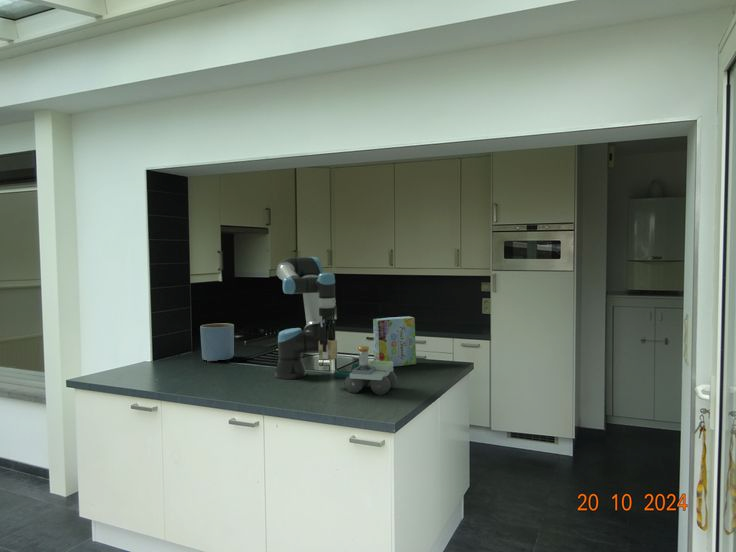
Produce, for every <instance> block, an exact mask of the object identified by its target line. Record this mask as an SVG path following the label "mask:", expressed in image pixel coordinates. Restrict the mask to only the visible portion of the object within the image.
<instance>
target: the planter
mask: <svg viewBox="0 0 736 552" xmlns="http://www.w3.org/2000/svg"><path fill="white" fill-rule="evenodd" d="M199 330H200V346H201V359H202V360H203V361H204V360H207V362H217V361H218V360H225V359H229V360H231V359H233V358H234V357H233V356H234V355H235V353H234V351H235V349H234V348H235V343H234V342H235V324H233V323H228V322H226V323H225V322H224V323H207V324H202V325H200V327H199ZM218 362H219V361H218Z"/></svg>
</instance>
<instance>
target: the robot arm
mask: <svg viewBox="0 0 736 552" xmlns="http://www.w3.org/2000/svg"><path fill="white" fill-rule="evenodd" d="M275 274H276V275H277V277H278V279H280V280H281V281H282V291H283V293H284V294H287V295H288V294H289V295H294V294H295V295H297V294H302V297H303V307H304V313H305V321H306V323H305V324H306V325H305V326H304V328H303V330H302V328H300V327H296V328H295V327H294V328H293V327H292V328H286V329H284V330H281V331H279V332H278V335H277V345H278V346H277V347H278V348H277V349H278V362H277V366H276V369H275V373H274V375H275V377H276V378H278V379H281V380H283V379H284V380H289V379H290V380H291V379H301V378H304V377H306V376H307V371H306V367H305V364H304V362H303V361H304V360H303V355H311V354H319V341H320V345H322V359H321V360H327V359H329V356H328V345H327V342H328V340H336V318H334V316H336V307H335V306H336V302H337V301H336V278H335V277H336V276H335V274H334V273H330V272H328V273H327V272H325V273H324V271H323V266H322V262H321V260H320V258H318V257H317V256H306V257H305V256H304V257H303V256H301V257H300V256H299V257H296V256H295V257H294V256H293V257H292V256H291V257H287V258H284V259H282V260H281V261H280V262H278V263H277V265H276V268H275Z"/></svg>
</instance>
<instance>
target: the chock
mask: <svg viewBox="0 0 736 552" xmlns="http://www.w3.org/2000/svg"><path fill="white" fill-rule="evenodd" d="M327 345H328V356H329V359H326V360H330V361H331V360H332V361H333V360H335V359H338V340H336V339H335V340H328V342H327ZM318 360H323V359H322V345H320V341H319V353H318Z"/></svg>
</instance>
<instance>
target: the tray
mask: <svg viewBox="0 0 736 552" xmlns="http://www.w3.org/2000/svg"><path fill="white" fill-rule="evenodd" d="M368 367H374V368H376V371H385V372H387V371H388V370H390V369H391V368H392V367H393V361H375V360H368ZM393 368H394V367H393Z"/></svg>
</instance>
